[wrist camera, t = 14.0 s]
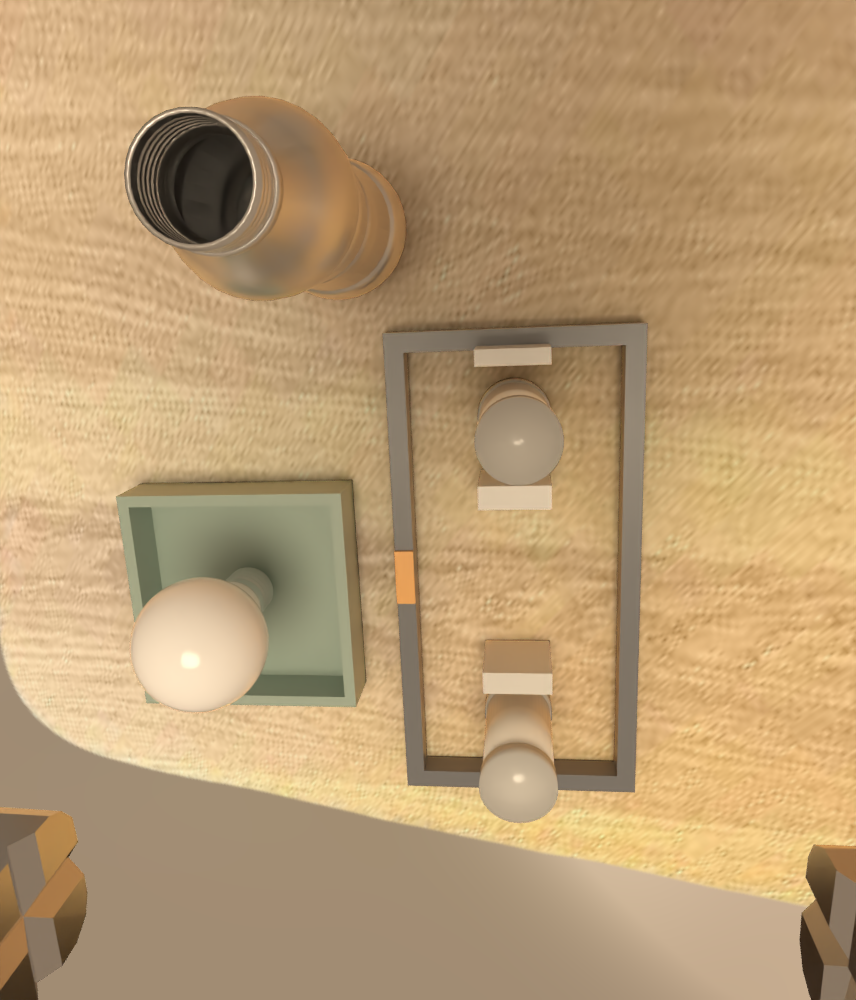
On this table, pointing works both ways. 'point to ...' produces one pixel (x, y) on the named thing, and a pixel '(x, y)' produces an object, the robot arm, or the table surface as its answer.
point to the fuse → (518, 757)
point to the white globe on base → (517, 433)
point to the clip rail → (520, 660)
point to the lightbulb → (203, 640)
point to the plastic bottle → (264, 201)
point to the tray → (276, 552)
